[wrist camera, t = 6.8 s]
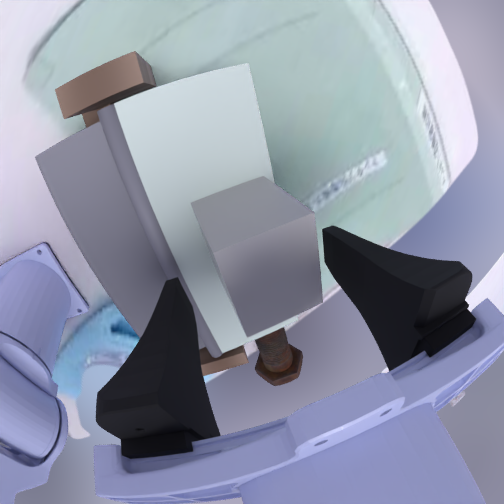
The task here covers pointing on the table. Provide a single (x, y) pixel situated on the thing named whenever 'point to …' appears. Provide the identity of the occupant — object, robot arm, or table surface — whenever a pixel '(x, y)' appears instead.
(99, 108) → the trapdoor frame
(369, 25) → the table surface
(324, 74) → the table surface
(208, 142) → the trapdoor
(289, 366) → the bolt
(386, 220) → the table surface
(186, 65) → the table surface
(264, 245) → the grey cube
